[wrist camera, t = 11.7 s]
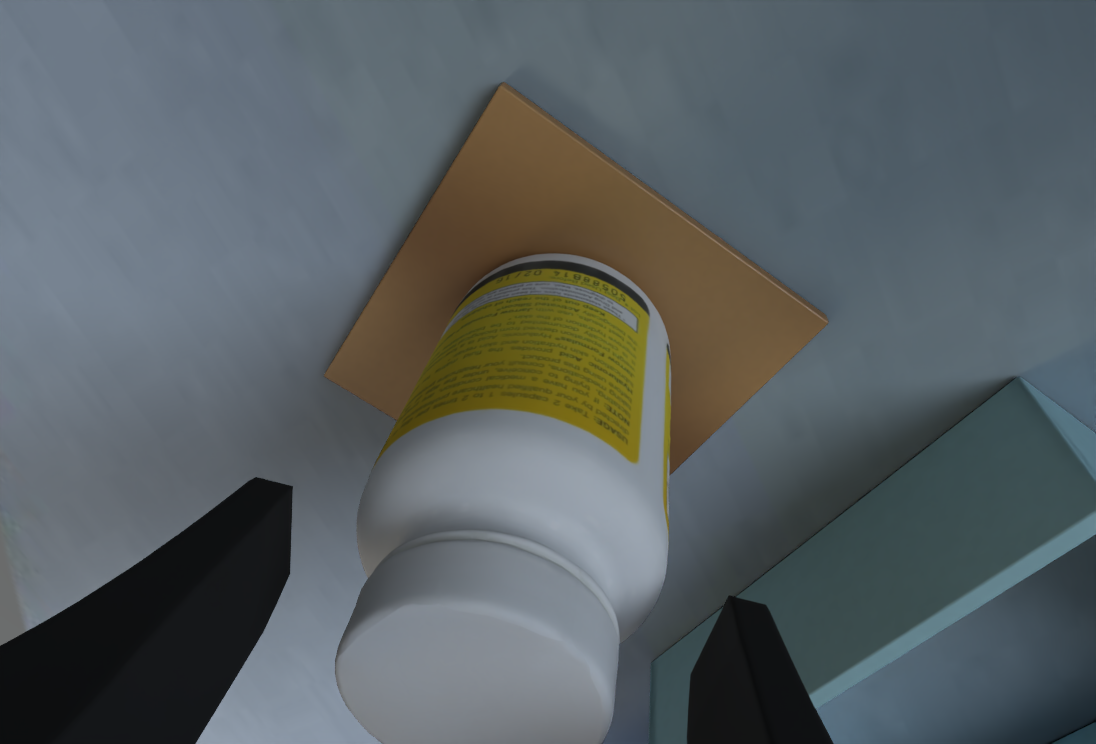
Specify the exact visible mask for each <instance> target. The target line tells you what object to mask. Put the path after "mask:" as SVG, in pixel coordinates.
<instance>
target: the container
mask: <svg viewBox="0 0 1096 744" xmlns="http://www.w3.org/2000/svg"><path fill="white" fill-rule="evenodd" d="M1094 535H1096V433H1095V432H1093V431H1092V430H1091V429H1089V428H1088V427H1087V426H1085V425H1084V424H1083V423H1081V422H1080V421H1079V420H1077V419H1076V418H1075V417H1073V416H1072V415H1071V414H1069V413H1068V412H1067V411H1065V410H1064V409H1063V408H1061V407H1060V406H1059V405H1057V404H1056V403H1055V402H1053V401H1052V400H1051V399H1049V398H1048V397H1047V396H1045V395H1044V394H1043V393H1041V392H1040V391H1039V390H1037V389H1036V388H1035V387H1033V386H1032V385H1031V384H1030V383H1028V382H1027V381H1026V380H1024V379H1023V378H1022V377H1017V378H1015V379H1014V380H1013V381H1012V382H1010V383H1009V384H1008V385H1006V386H1005V387H1004V388H1003V389H1001V390H1000V391H999V392H998V393H996V394H995V395H994V396H992V397H991V398H990V399H989V400H987V401H986V402H985V403H983V404H982V405H981V406H980V407H978V408H977V409H976V410H974V411H973V412H972V413H971V414H969V415H968V416H967V417H965V418H964V419H963V420H962V421H960V422H959V423H958V424H957V425H955V426H954V427H953V428H951V429H950V430H949V431H948V432H946V433H945V434H944V435H942V436H941V437H940V438H939V439H937V440H936V441H935V442H933V443H932V444H931V445H930V446H928V447H927V448H926V449H925V450H923V451H922V452H921V453H919V454H918V455H917V456H916V457H914V458H913V459H912V460H910V461H909V462H908V463H907V464H905V465H904V466H903V467H901V468H900V469H899V470H898V471H896V472H895V473H894V474H893V475H891V476H890V477H889V478H887V479H886V480H885V481H884V482H882V483H881V484H880V485H878V486H877V487H876V488H875V489H873V490H872V491H871V492H869V493H868V494H867V495H866V496H864V497H863V498H862V499H861V500H859V501H858V502H857V503H855V504H854V505H853V506H852V507H850V508H849V509H848V510H846V511H845V512H844V513H843V514H841V515H840V516H839V517H837V518H836V519H835V520H834V521H832V522H831V523H830V524H828V525H827V526H826V527H825V528H823V529H822V530H821V531H820V532H818V533H817V534H816V535H814V536H813V537H812V538H811V539H809V540H808V541H807V542H805V543H804V544H803V545H802V546H800V547H799V548H798V549H796V550H795V551H794V552H793V553H791V554H790V555H789V556H788V557H786V558H785V559H784V560H782V561H781V562H780V563H779V564H777V565H776V566H775V567H773V568H772V569H771V570H770V571H768V572H767V573H766V574H764V575H763V576H762V577H761V578H759V579H758V580H757V581H756V582H754V583H753V584H752V585H750V586H749V587H748V588H747V589H745V590H744V591H743V592H741V593H740V594H739V595H738V596H736V597H737V598H741V599H745V600H749V601H753V602H757V603H761V604H765V605H767V607H768V609H769V611H770V612H771V615H772V617H773V619H774V621H775V624H776V626H777V628H778V630H779V632H780V635H781V637H782V639H783V641H784V644H785V646H786V648H787V650H788V652H789V654H790V657H791V659H792V661H793V663H794V665H795V667H796V669H797V672H798V674H799V676H800V678H801V680H802V682H803V684H804V686H805V688H806V691H807V693H808V695H809V697H810V699H811V701H812V703H813V705H814V707H815V709H817V708H819V707H820V706H822V705H823V704H825V703H827V702H828V701H830V700H831V699H833V698H835V697H836V696H838V695H839V694H841V693H843V692H844V691H846V690H847V689H849V688H851V687H852V686H854V685H855V684H857V683H859V682H860V681H862V680H863V679H865V678H867V677H868V676H870V675H871V674H873V673H875V672H876V671H878V670H879V669H881V668H883V667H884V666H886V665H887V664H889V663H891V662H892V661H894V660H895V659H897V658H899V657H900V656H902V655H903V654H905V653H907V652H908V651H910V650H911V649H913V648H915V647H916V646H918V645H919V644H921V643H923V642H924V641H926V640H927V639H929V638H931V637H932V636H934V635H935V634H937V633H939V632H940V631H942V630H943V629H945V628H947V627H948V626H950V625H951V624H953V623H955V622H956V621H958V620H959V619H961V618H963V617H964V616H966V615H967V614H969V613H971V612H972V611H974V610H975V609H977V608H979V607H980V606H982V605H983V604H985V603H987V602H988V601H990V600H992V599H993V598H995V597H996V596H998V595H1000V594H1001V593H1003V592H1004V591H1006V590H1008V589H1009V588H1011V587H1012V586H1014V585H1016V584H1017V583H1019V582H1020V581H1022V580H1024V579H1025V578H1027V577H1028V576H1030V575H1032V574H1033V573H1035V572H1036V571H1038V570H1040V569H1041V568H1043V567H1044V566H1046V565H1048V564H1049V563H1051V562H1052V561H1054V560H1056V559H1057V558H1059V557H1060V556H1062V555H1064V554H1065V553H1067V552H1068V551H1070V550H1072V549H1073V548H1075V547H1076V546H1078V545H1080V544H1081V543H1083V542H1084V541H1086V540H1088V539H1089V538H1091V537H1092V536H1094ZM722 609H723V607H722V608H721V609H720V610H718V611H717V612H716V613H715V614H713V615H712V616H711V617H709V618H708V619H707V620H706V621H704V622H703V623H702V624H700V625H699V626H698V627H697V628H695V629H694V630H693V631H691V632H690V633H689V634H688V635H686V636H685V637H684V638H683V639H681V640H680V641H679V642H677V643H676V644H675V645H674V646H672V647H671V648H670V649H668V650H667V651H666V652H665V653H663V654H662V655H661V656H659V657H658V658H657V659H656V660H654V661H653V662H652V663H651V676H650V713H649V744H687V722H688V703H689V689H690V674H691V672H692V670H693V668H694V666H695V664H696V662H697V660H698V658H699V656H700V654H701V652H702V650H703V647H704V645H705V643H706V641H707V639H708V637H709V635H710V633H711V631H712V629H713V627H714V625H715V623H716V621H717V619H718V617H719V615H720V613H721V611H722ZM1051 744H1096V722H1094V723H1092V724H1090V725H1088V726H1086V727H1084V728H1082V729H1080V730H1078V731H1076V732H1074V733H1072V734H1070V735H1068V736H1066V737H1064V738H1062V739H1060V740H1058V741H1056V742H1053V743H1051Z"/></svg>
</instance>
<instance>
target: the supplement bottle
mask: <svg viewBox="0 0 1096 744" xmlns="http://www.w3.org/2000/svg"><path fill="white" fill-rule="evenodd" d="M670 419H671V354H670V345H669V340H668V335H667V332H666V329H665V326H664V323H663V321H662V319H661V316H660V315H659V313H658V311H657V309H656V308H655V306H654V305H653V303H652V302H651V301H650V299H649V298H648V297H647V295H646V294H645V293H644V292H643V291H642V290H641V289H640V288H639V287H638V286H637V285H636V284H634V283H633V282H632V281H631V280H630V279H628V278H627V277H626V276H624V275H623V274H621V273H619V272H618V271H616V270H614V269H613V268H611V267H609V266H607V265H605V264H603V263H600V262H598V261H595V260H592V259H589V258H585V257H581V256H576V255H571V254H559V253H548V254H537V255H531V256H526V257H522V258H519V259H515V260H513V261H510V262H508V263H506V264H503V265H501V266H500V267H498V268H496V269H495V270H493V271H491V272H490V273H488V274H487V275H485V276H484V277H483V278H482V279H480V280H479V281H478V282H477V283H476V284H475V285H474V286H473V287H472V288H471V289H470V290H469V291H468V293H467V294H466V295H465V297H464V298H463V299H462V301H461V302H460V304H459V305H458V307H457V308H456V309H455V311H454V313H453V315H452V316H451V319H450V321H449V323H448V325H447V326H446V328H445V330H444V332H443V334H442V336H441V338H440V340H439V342H438V344H437V346H436V348H435V350H434V352H433V353H432V355H431V357H430V359H429V361H428V363H427V365H426V367H425V368H424V370H423V372H422V374H421V376H420V378H419V380H418V382H417V384H416V386H415V388H414V390H413V392H412V394H411V396H410V398H409V400H408V401H407V403H406V405H405V407H404V409H403V411H402V413H401V415H400V416H399V418H398V420H397V422H396V424H395V426H394V428H393V430H392V432H391V433H390V435H389V437H388V439H387V441H386V443H385V445H384V447H383V449H382V451H381V453H380V455H379V456H378V458H377V460H376V462H375V465H374V467H373V469H372V471H371V474H370V476H369V479H368V481H367V484H366V486H365V489H364V491H363V494H362V497H361V500H360V504H359V509H358V514H357V543H358V550H359V554H360V558H361V561H362V565H363V568H364V571H365V573H366V575H367V577H368V580H367V581H366V583H365V584H364V586H363V588H362V589H361V592H360V595H359V597H358V600H357V603H356V607H355V609H354V611H353V614H352V616H351V618H350V621H349V623H348V625H347V627H346V630H345V632H344V634H343V636H342V639H341V641H340V644H339V646H338V650H337V655H336V659H335V675H336V681H337V686H338V688H339V691H340V694H341V696H342V698H343V700H344V702H345V704H346V706H347V707H348V709H349V710H350V711H351V713H352V714H353V715H354V717H355V718H356V719H357V720H358V722H359V723H360V724H361V725H362V726H363V727H364V728H365V729H366V730H367V731H368V732H369V733H370V734H371V735H372V736H374V737H375V738H376V739H377V740H379V741H380V742H381V743H383V744H602V743H603V741H604V739H605V737H606V735H607V733H608V731H609V728H610V725H611V723H612V718H613V713H614V704H615V691H616V681H617V671H618V661H619V644H621V643H622V642H624V641H625V640H626V639H627V638H628V637H629V636H631V635H632V634H633V633H634V632H635V631H636V630H637V629H638V628H639V627H640V626H641V624H642V623H643V622H644V621H645V620H646V618H647V617H648V615H649V614H650V613H651V611H652V609H653V608H654V606H655V604H656V602H657V600H658V598H659V596H660V593H661V590H662V587H663V584H664V580H665V576H666V569H667V557H668V546H669V471H670V439H671V438H670Z"/></svg>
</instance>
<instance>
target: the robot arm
mask: <svg viewBox="0 0 1096 744" xmlns="http://www.w3.org/2000/svg"><path fill="white" fill-rule="evenodd" d="M292 490H293V486H289V485H285V484H281V483H277V482H273V481H269V480H265V479H261V478H257V477H256V478H254V479H252V480H250V481H248V482H247V483H246V484H245V485H243V486H242V487H241V488H239V489H238V490H237V491H235V492H234V493H233V494H232V495H230V496H229V497H228V498H226V499H225V500H224V501H222V502H221V503H220V504H219V505H217V506H216V507H215V508H213V509H212V510H211V511H209V512H208V513H207V514H205V515H204V516H203V517H201V518H200V519H199V520H197V521H196V522H195V523H193V524H192V525H191V526H189V527H188V528H187V529H185V530H184V531H182V532H181V533H180V534H178V535H177V536H175V537H174V538H173V539H171V540H170V541H168V542H167V543H166V544H164V545H163V546H161V547H160V548H158V549H157V550H156V551H154V552H153V553H151V554H150V555H149V556H147V557H146V558H144V559H143V560H141V561H140V562H139V563H137V564H136V565H134V566H133V567H131V568H130V569H128V570H127V571H125V572H124V573H122V574H120V575H119V576H117V577H116V578H114V579H113V580H111V581H110V582H108V583H106V584H105V585H103V586H102V587H100V588H99V589H97V590H96V591H94V592H92V593H91V594H89V595H88V596H86V597H85V598H83V599H82V600H80V601H78V602H77V603H75V604H73V605H72V606H70V607H68V608H67V609H65V610H63V611H62V612H60V613H58V614H57V615H55V616H53V617H51V618H50V619H48V620H46V621H44V622H43V623H41V624H39V625H37V626H36V627H34V628H32V629H30V630H28V631H27V632H25V633H23V634H21V635H19V636H18V637H16V638H14V639H12V640H10V641H8V642H7V643H5V644H3V645H1V646H0V744H195V743H196V742H197V740H198V739H199V737H200V735H201V734H202V732H203V730H204V729H205V727H206V725H207V724H208V722H209V721H210V719H211V717H212V716H213V714H214V712H215V711H216V709H217V707H218V706H219V704H220V703H221V701H222V699H223V698H224V696H225V694H226V693H227V691H228V689H229V688H230V686H231V685H232V683H233V681H234V680H235V678H236V676H237V675H238V673H239V671H240V670H241V668H242V666H243V665H244V663H245V661H246V660H247V658H248V656H249V655H250V653H251V651H252V650H253V648H254V647H255V645H256V643H257V641H258V640H259V638H260V636H261V635H262V633H263V631H264V629H265V627H266V625H267V623H268V621H269V619H270V617H271V614H272V612H273V610H274V608H275V606H276V604H277V602H278V599H279V597H280V595H281V593H282V590H283V588H284V586H285V584H286V581H287V579H288V577H289V575H290V556H291V523H292ZM687 744H833V742H832V740H831V738H830V736H829V734H828V732H827V730H826V728H825V726H824V724H823V722H822V720H821V718H820V717H819V715H818V713H817V711H816V709H815V707H814V705H813V703H812V701H811V699H810V697H809V695H808V693H807V691H806V688H805V686H804V684H803V682H802V680H801V678H800V676H799V674H798V672H797V669H796V667H795V665H794V663H793V661H792V659H791V657H790V654H789V652H788V650H787V648H786V646H785V644H784V641H783V639H782V637H781V635H780V632H779V630H778V628H777V626H776V624H775V621H774V619H773V617H772V615H771V612H770V611H769V609H768V607H767V605H765V604H761V603H757V602H753V601H749V600H745V599H741V598H737V597H733V596H728V598H727V600H726V602H725V604H724V606H723V609H722V611H721V613H720V615H719V617H718V619H717V621H716V623H715V625H714V627H713V629H712V631H711V633H710V635H709V637H708V639H707V641H706V643H705V645H704V647H703V650H702V652H701V654H700V656H699V658H698V660H697V662H696V664H695V666H694V668H693V670H692V672H691V674H690V689H689V703H688V722H687Z"/></svg>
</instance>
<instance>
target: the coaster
mask: <svg viewBox="0 0 1096 744" xmlns="http://www.w3.org/2000/svg"><path fill="white" fill-rule="evenodd" d="M548 253H559V254H571V255H576V256H581V257H585V258H589V259H592V260H595V261H598V262H600V263H603V264H605V265H607V266H609V267H611V268H613V269H614V270H616V271H618V272H619V273H621V274H623V275H624V276H626V277H627V278H628V279H630V280H631V281H632V282H633V283H634V284H636V285H637V286H638V287H639V288H640V289H641V290H642V291H643V292H644V293H645V294H646V295H647V297H648V298H649V299H650V301H651V302H652V303H653V305H654V306H655V308H656V309H657V311H658V313H659V315H660V316H661V319H662V321H663V323H664V326H665V329H666V332H667V335H668V340H669V345H670V354H671V419H670V438H671V439H670V471H669V476H670V475H671V474H672V473H673V472H674V471H675V470H676V469H677V468H678V467H679V466H680V465H681V464H682V463H683V462H684V461H685V460H686V459H687V458H688V457H689V456H690V455H691V454H693V453H694V452H695V451H696V450H697V449H698V448H699V447H700V446H701V445H702V444H703V443H704V442H705V441H706V440H707V439H708V438H709V437H710V436H711V435H712V434H713V433H714V432H715V431H717V430H718V429H719V428H720V427H721V426H722V425H723V424H724V423H725V422H726V421H727V420H728V419H729V418H730V417H731V416H732V415H733V414H734V413H735V412H736V411H737V410H738V409H739V408H740V407H742V406H743V405H744V404H745V403H746V402H747V401H748V400H749V399H750V398H751V397H752V396H753V395H754V394H755V393H756V392H757V391H758V390H759V389H760V388H761V387H762V386H763V385H764V384H766V383H767V382H768V381H769V380H770V379H771V378H772V377H773V376H774V375H775V374H776V373H777V372H778V371H779V370H780V369H781V368H782V367H783V366H784V365H785V364H786V363H787V362H788V361H789V360H791V359H792V358H793V357H794V356H795V355H796V354H797V353H798V352H799V351H800V350H801V349H802V348H803V347H804V346H805V345H806V344H807V343H808V342H809V341H810V340H811V339H812V338H813V337H815V336H816V335H817V334H818V333H819V332H820V331H821V330H822V329H823V328H824V327H825V326H826V325H827V324H828V319H827V316H826V315H825V314H824V313H823V312H821V311H820V310H818V309H817V308H816V307H814V306H813V305H811V304H810V303H809V302H807V301H806V300H805V299H803V298H802V297H800V296H799V295H798V294H796V293H795V292H794V291H792V290H791V289H789V288H788V287H787V286H785V285H784V284H782V283H781V282H780V281H778V280H777V279H776V278H774V277H773V276H771V275H770V274H769V273H767V272H766V271H765V270H763V269H762V268H760V267H759V266H758V265H756V264H755V263H754V262H752V261H751V260H749V259H748V258H747V257H745V256H744V255H742V254H741V253H740V252H738V251H737V250H736V249H734V248H733V247H731V246H730V245H729V244H727V243H726V242H725V241H723V240H722V239H720V238H719V237H718V236H716V235H715V234H713V233H712V232H711V231H709V230H708V229H707V228H705V227H704V226H702V225H701V224H700V223H698V222H697V221H696V220H694V219H693V218H691V217H690V216H689V215H687V214H686V213H684V212H683V211H682V210H680V209H679V208H678V207H676V206H675V205H673V204H672V203H671V202H669V201H668V200H667V199H665V198H664V197H662V196H661V195H660V194H658V193H657V192H656V191H654V190H653V189H651V188H650V187H649V186H647V185H646V184H644V183H643V182H642V181H640V180H639V179H638V178H636V177H635V176H633V175H632V174H631V173H629V172H628V171H627V170H625V169H624V168H622V167H621V166H620V165H618V164H617V163H615V162H614V161H613V160H611V159H610V158H609V157H607V156H606V155H604V154H603V153H602V152H600V151H599V150H598V149H596V148H595V147H593V146H592V145H591V144H589V143H588V142H587V141H585V140H584V139H582V138H581V137H580V136H578V135H577V134H575V133H574V132H573V131H571V130H570V129H569V128H567V127H566V126H564V125H563V124H562V123H560V122H559V121H558V120H556V119H555V118H553V117H552V116H551V115H549V114H548V113H546V112H545V111H544V110H542V109H541V108H540V107H538V106H537V105H535V104H534V103H533V102H531V101H530V100H529V99H527V98H526V97H524V96H523V95H522V94H520V93H519V92H518V91H516V90H515V89H513V88H512V87H511V86H509V85H508V84H506V83H505V82H503V83H501V85H500V86H499V87H498V89H497V90H496V92H495V94H494V95H493V97H492V99H491V100H490V102H489V104H488V105H487V107H486V109H485V110H484V112H483V113H482V115H481V117H480V118H479V120H478V122H477V123H476V125H475V127H474V128H473V130H472V132H471V133H470V135H469V137H468V138H467V140H466V141H465V143H464V145H463V146H462V148H461V150H460V151H459V153H458V155H457V156H456V158H455V160H454V161H453V163H452V165H451V166H450V168H449V170H448V171H447V173H446V174H445V176H444V178H443V179H442V181H441V183H440V184H439V186H438V188H437V189H436V191H435V193H434V194H433V196H432V198H431V199H430V201H429V202H428V204H427V206H426V207H425V209H424V211H423V212H422V214H421V216H420V217H419V219H418V221H417V222H416V224H415V226H414V227H413V229H412V231H411V232H410V234H409V235H408V237H407V239H406V240H405V242H404V244H403V245H402V247H401V249H400V250H399V252H398V254H397V255H396V257H395V259H394V260H393V262H392V263H391V265H390V267H389V268H388V270H387V272H386V273H385V275H384V277H383V278H382V280H381V282H380V283H379V285H378V287H377V288H376V290H375V291H374V293H373V295H372V296H371V298H370V300H369V301H368V303H367V305H366V306H365V308H364V310H363V311H362V313H361V315H360V316H359V318H358V320H357V321H356V323H355V324H354V326H353V328H352V329H351V331H350V333H349V334H348V336H347V338H346V339H345V341H344V343H343V344H342V346H341V348H340V349H339V351H338V352H337V354H336V356H335V357H334V359H333V361H332V362H331V364H330V366H329V367H328V369H327V371H326V372H325V374H324V377H326V378H327V379H329V380H331V381H332V382H334V383H336V384H337V385H339V386H341V387H342V388H344V389H346V390H347V391H349V392H351V393H352V394H354V395H356V396H357V397H359V398H361V399H362V400H364V401H366V402H367V403H369V404H371V405H372V406H374V407H375V408H377V409H379V410H380V411H382V412H384V413H385V414H387V415H389V416H390V417H392V418H394V419H395V420H398V418H399V416H400V415H401V413H402V411H403V409H404V407H405V405H406V403H407V401H408V400H409V398H410V396H411V394H412V392H413V390H414V388H415V386H416V384H417V382H418V380H419V378H420V376H421V374H422V372H423V370H424V368H425V367H426V365H427V363H428V361H429V359H430V357H431V355H432V353H433V352H434V350H435V348H436V346H437V344H438V342H439V340H440V338H441V336H442V334H443V332H444V330H445V328H446V326H447V325H448V323H449V321H450V319H451V316H452V315H453V313H454V311H455V309H456V308H457V307H458V305H459V304H460V302H461V301H462V299H463V298H464V297H465V295H466V294H467V293H468V291H469V290H470V289H471V288H472V287H473V286H474V285H475V284H476V283H477V282H478V281H479V280H480V279H482V278H483V277H484V276H485V275H487V274H488V273H490V272H491V271H493V270H495V269H496V268H498V267H500V266H501V265H503V264H506V263H508V262H510V261H513V260H515V259H519V258H522V257H526V256H531V255H537V254H548Z"/></svg>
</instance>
